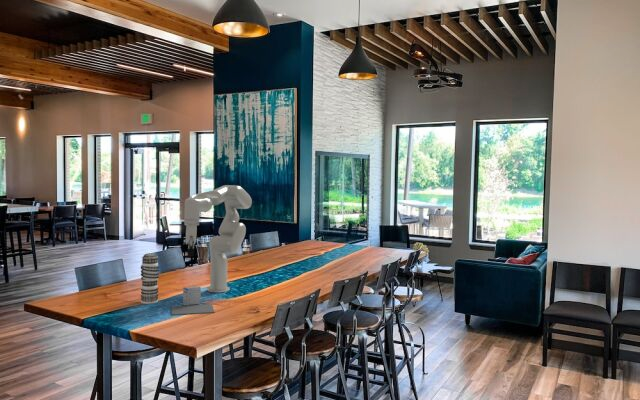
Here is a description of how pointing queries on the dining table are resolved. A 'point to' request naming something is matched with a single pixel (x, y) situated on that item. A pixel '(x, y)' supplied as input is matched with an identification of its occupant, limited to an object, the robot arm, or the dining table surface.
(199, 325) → the dining table surface
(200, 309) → the charcoal mat
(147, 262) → the decorative candle
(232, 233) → the robot arm
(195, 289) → the medicine box
